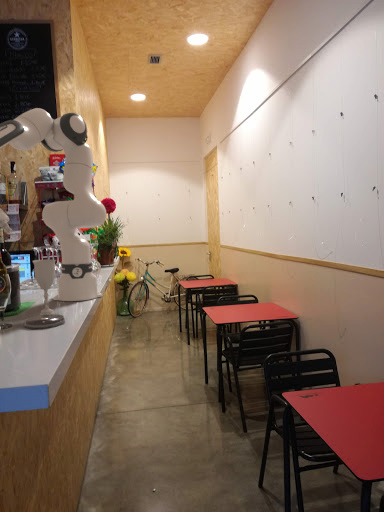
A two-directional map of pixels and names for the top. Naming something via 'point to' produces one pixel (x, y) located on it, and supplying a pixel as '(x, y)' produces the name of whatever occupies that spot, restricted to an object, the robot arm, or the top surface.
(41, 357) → the top surface
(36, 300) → the top surface
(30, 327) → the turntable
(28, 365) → the top surface
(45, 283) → the chalice
